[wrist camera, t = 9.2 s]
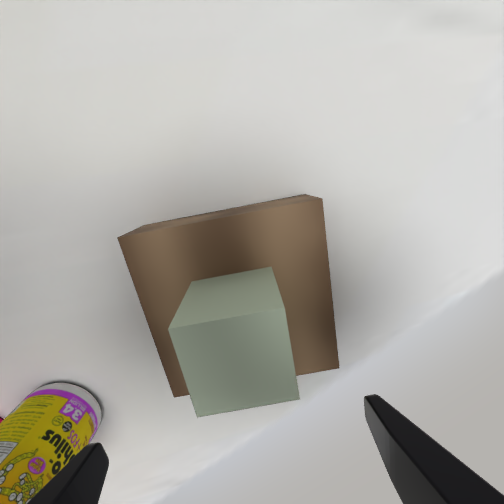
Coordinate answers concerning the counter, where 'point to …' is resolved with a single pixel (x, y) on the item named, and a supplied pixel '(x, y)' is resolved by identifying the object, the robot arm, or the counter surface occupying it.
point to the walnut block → (235, 261)
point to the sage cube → (234, 343)
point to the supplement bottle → (44, 438)
